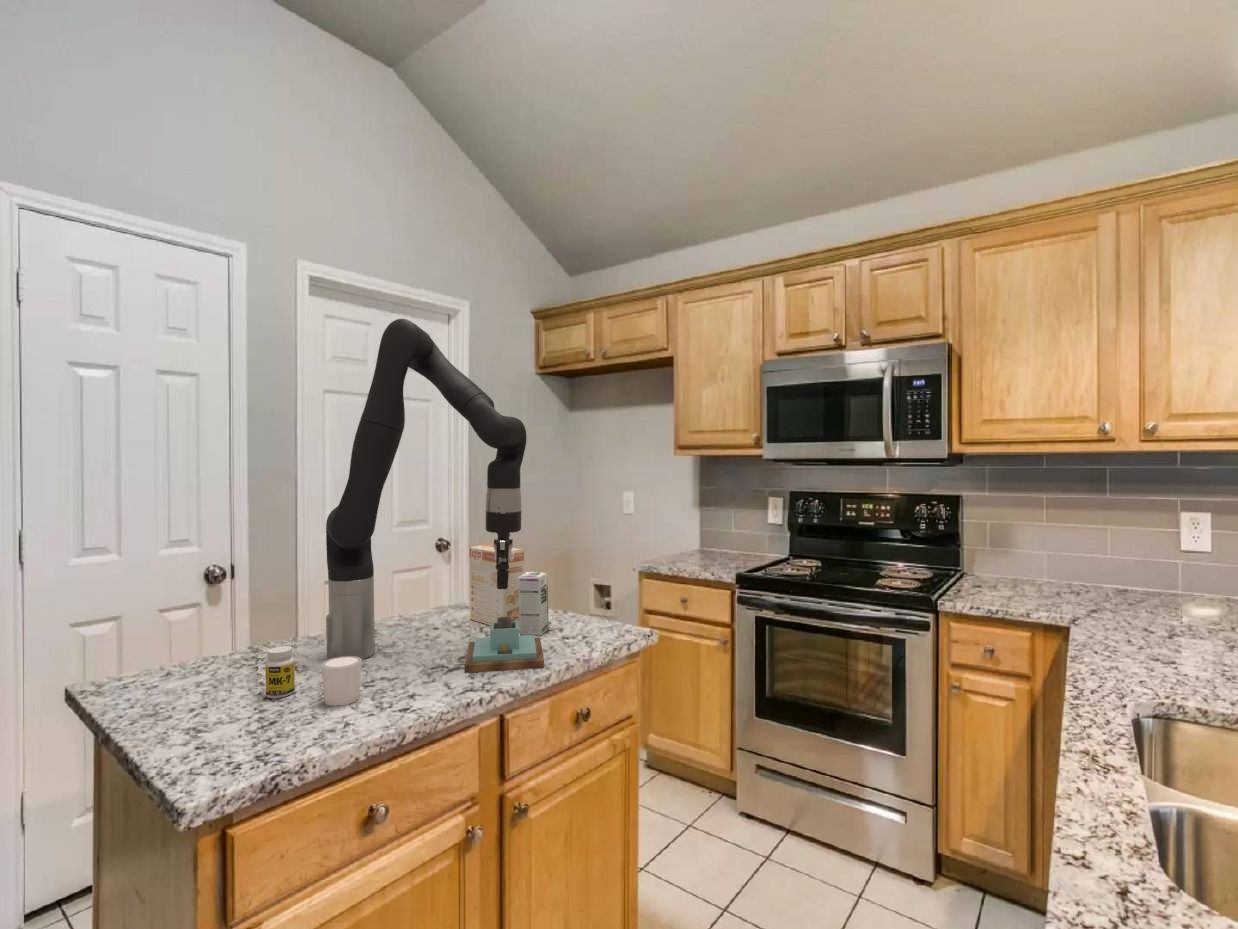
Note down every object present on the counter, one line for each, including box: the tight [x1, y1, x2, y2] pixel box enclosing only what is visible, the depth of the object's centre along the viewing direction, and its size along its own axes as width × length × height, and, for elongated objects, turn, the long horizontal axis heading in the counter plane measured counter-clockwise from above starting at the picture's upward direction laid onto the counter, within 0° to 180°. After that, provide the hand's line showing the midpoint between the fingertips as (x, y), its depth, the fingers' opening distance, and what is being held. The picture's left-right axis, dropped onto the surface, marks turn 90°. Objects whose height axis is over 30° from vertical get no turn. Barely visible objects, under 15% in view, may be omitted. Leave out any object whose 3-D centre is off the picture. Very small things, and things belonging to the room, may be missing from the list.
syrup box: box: [518, 571, 550, 637], centre depth 158 cm, size 6×6×14 cm
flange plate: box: [473, 621, 537, 662], centre depth 139 cm, size 13×13×6 cm
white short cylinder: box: [320, 656, 363, 706], centre depth 116 cm, size 7×7×7 cm
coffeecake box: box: [469, 543, 525, 627], centre depth 167 cm, size 15×7×20 cm, turn 46°
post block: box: [464, 617, 545, 674], centre depth 139 cm, size 16×16×8 cm
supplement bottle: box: [264, 645, 296, 699], centre depth 119 cm, size 5×5×8 cm
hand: (502, 584), depth 138 cm, fingers open, 8 cm apart
